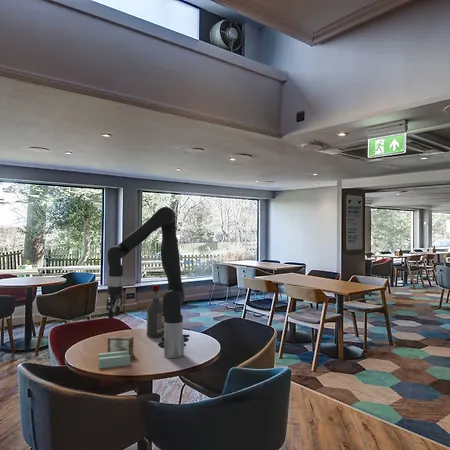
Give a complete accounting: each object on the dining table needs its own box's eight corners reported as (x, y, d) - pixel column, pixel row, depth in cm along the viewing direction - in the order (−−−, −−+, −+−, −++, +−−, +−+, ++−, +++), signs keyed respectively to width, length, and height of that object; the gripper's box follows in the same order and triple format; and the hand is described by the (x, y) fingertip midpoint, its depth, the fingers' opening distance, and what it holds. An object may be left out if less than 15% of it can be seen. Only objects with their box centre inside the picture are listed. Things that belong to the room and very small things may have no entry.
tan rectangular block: (133, 354, 194) (133, 336, 194) (131, 356, 190) (131, 338, 190) (110, 353, 195) (110, 336, 195) (107, 356, 191) (107, 338, 191)
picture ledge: (127, 358, 188) (128, 349, 188) (130, 364, 179) (130, 356, 179) (98, 361, 183) (98, 353, 183) (99, 368, 174) (99, 359, 174)
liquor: (145, 337, 224) (145, 286, 225) (151, 333, 233) (151, 284, 234) (159, 338, 222) (160, 286, 223) (165, 334, 231) (165, 284, 232)
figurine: (166, 334, 230) (151, 350, 200) (166, 333, 230) (151, 348, 200) (192, 335, 228) (181, 352, 199) (192, 334, 228) (181, 350, 199)
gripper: (116, 287, 187) (115, 320, 187) (127, 283, 201) (126, 314, 201) (102, 286, 188) (101, 319, 188) (114, 282, 202) (112, 313, 202)
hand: (114, 316), depth 194 cm, fingers open, 8 cm apart
